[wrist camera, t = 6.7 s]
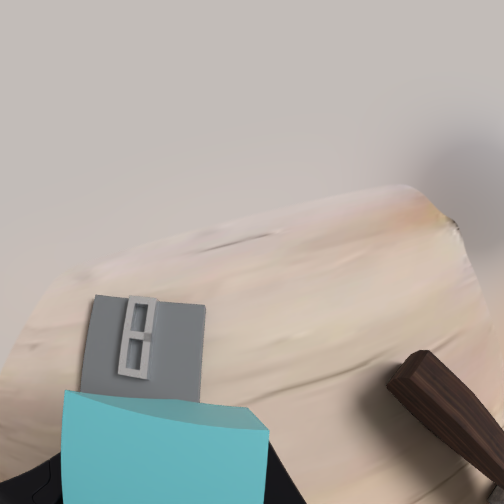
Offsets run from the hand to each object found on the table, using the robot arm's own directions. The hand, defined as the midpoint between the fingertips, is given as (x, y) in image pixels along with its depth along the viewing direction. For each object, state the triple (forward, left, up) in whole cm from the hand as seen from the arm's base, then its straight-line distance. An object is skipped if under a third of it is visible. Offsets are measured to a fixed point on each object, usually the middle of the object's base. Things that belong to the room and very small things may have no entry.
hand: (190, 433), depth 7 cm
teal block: (-1, 0, -7) cm, 7 cm away
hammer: (-6, -25, -13) cm, 29 cm away
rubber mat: (-4, +6, -12) cm, 14 cm away
